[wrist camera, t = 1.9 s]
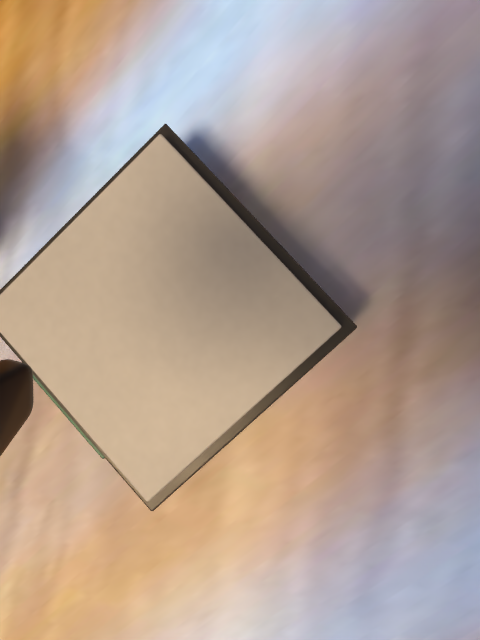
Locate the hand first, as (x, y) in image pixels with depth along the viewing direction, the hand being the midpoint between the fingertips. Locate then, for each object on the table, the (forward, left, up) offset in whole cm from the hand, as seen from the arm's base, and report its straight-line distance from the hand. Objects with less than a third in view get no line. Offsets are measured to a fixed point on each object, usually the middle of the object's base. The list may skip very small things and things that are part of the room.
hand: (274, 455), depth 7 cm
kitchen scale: (-3, +5, -14) cm, 15 cm away
